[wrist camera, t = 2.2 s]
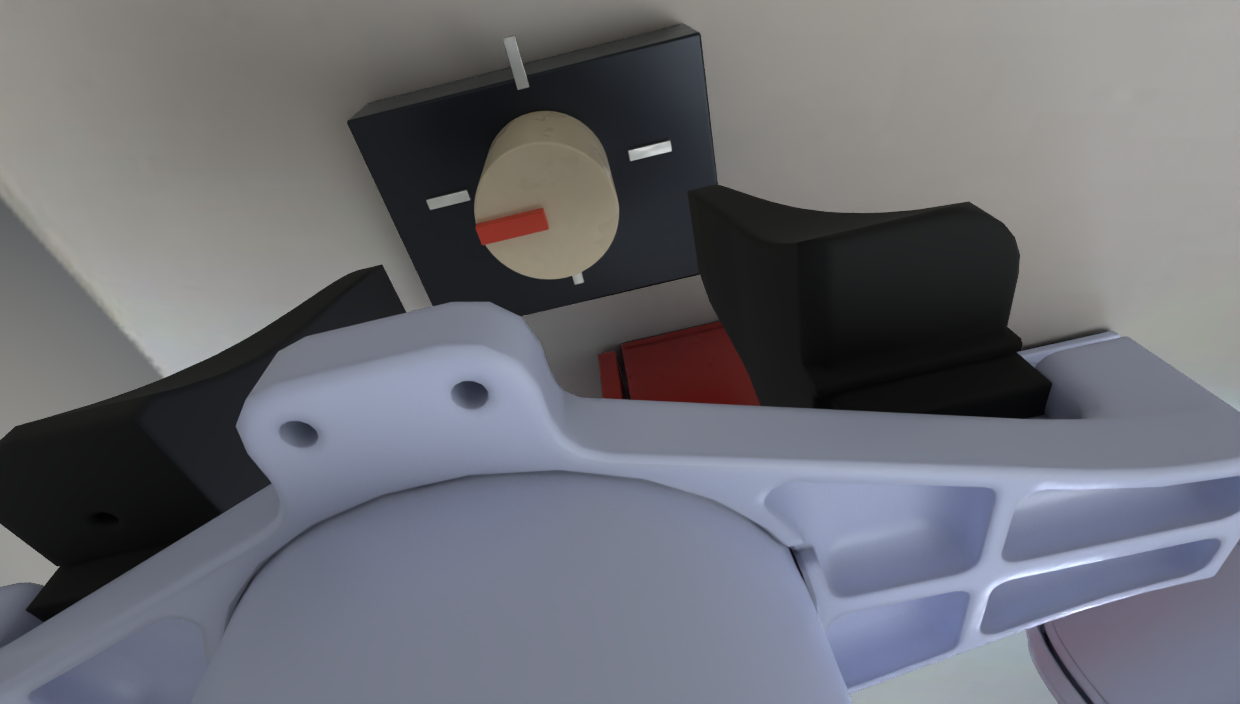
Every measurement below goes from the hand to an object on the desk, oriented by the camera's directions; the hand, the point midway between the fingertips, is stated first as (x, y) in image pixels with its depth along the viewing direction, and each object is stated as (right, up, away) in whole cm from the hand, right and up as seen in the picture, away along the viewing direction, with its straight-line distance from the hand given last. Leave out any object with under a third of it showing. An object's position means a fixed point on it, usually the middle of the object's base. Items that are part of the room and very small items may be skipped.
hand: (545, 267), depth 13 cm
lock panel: (-1, +4, +8) cm, 9 cm away
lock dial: (-1, +4, +6) cm, 7 cm away
